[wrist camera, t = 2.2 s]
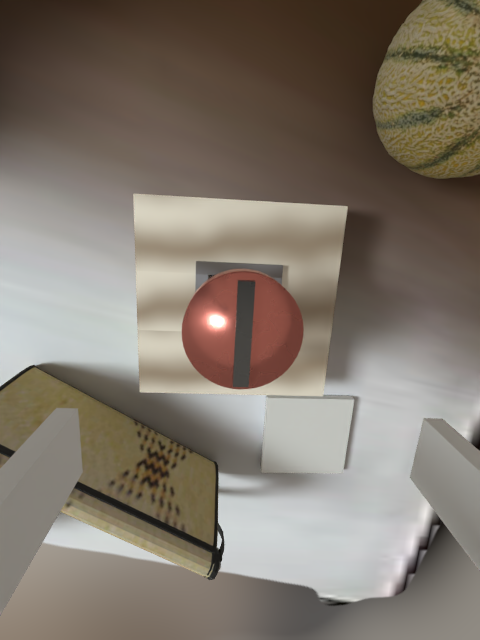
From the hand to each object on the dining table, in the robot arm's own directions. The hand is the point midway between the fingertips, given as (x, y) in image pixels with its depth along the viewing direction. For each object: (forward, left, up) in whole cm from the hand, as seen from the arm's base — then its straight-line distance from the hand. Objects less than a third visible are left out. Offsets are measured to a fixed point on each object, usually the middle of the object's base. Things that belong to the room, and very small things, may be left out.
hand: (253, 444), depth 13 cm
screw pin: (0, 0, -27) cm, 27 cm away
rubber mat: (+18, +10, -27) cm, 34 cm away
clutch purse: (+18, -13, -27) cm, 35 cm away
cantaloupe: (-20, +18, -27) cm, 39 cm away
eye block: (0, 0, -27) cm, 27 cm away
